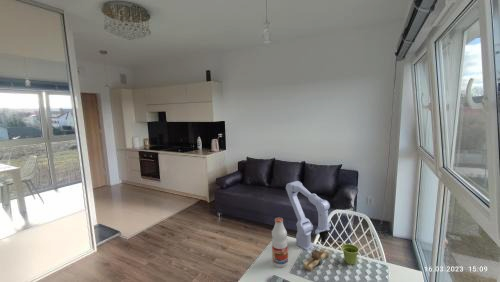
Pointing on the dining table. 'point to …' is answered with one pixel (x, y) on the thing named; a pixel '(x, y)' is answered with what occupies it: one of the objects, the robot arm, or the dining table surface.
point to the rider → (316, 254)
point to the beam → (315, 261)
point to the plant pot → (350, 253)
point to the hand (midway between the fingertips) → (323, 241)
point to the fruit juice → (279, 244)
